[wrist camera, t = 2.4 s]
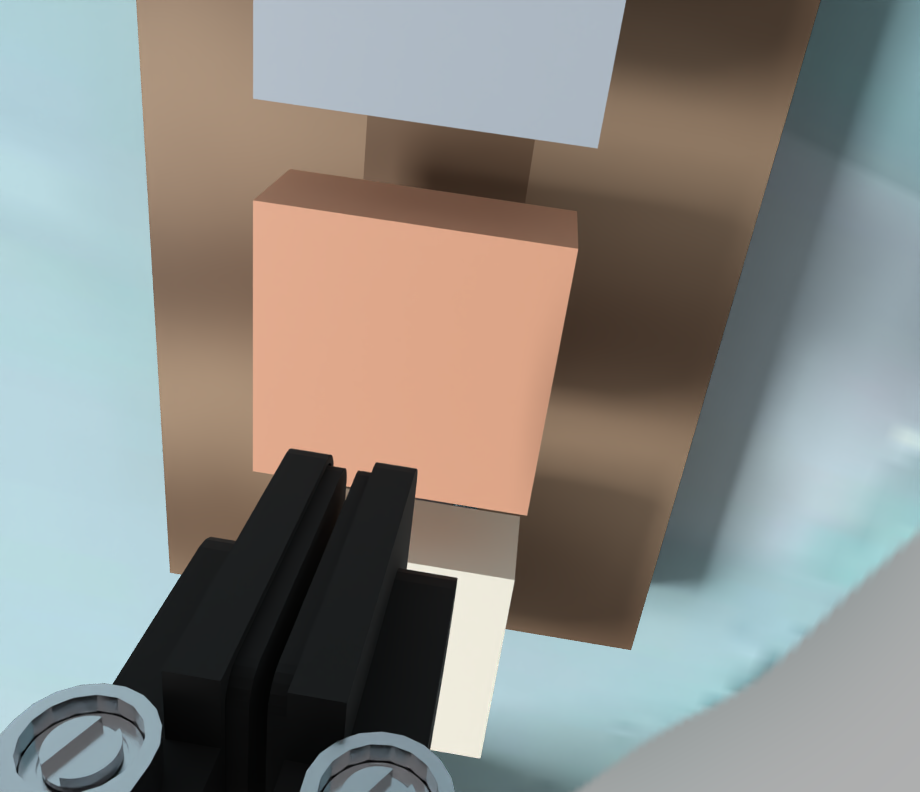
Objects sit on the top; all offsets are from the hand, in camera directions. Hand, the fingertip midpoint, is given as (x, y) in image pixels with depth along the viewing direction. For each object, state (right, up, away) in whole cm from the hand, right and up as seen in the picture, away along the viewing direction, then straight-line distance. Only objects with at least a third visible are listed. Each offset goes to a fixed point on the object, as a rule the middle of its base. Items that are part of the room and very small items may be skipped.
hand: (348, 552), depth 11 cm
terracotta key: (+1, +5, +7) cm, 8 cm away
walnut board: (+1, +6, +9) cm, 10 cm away
